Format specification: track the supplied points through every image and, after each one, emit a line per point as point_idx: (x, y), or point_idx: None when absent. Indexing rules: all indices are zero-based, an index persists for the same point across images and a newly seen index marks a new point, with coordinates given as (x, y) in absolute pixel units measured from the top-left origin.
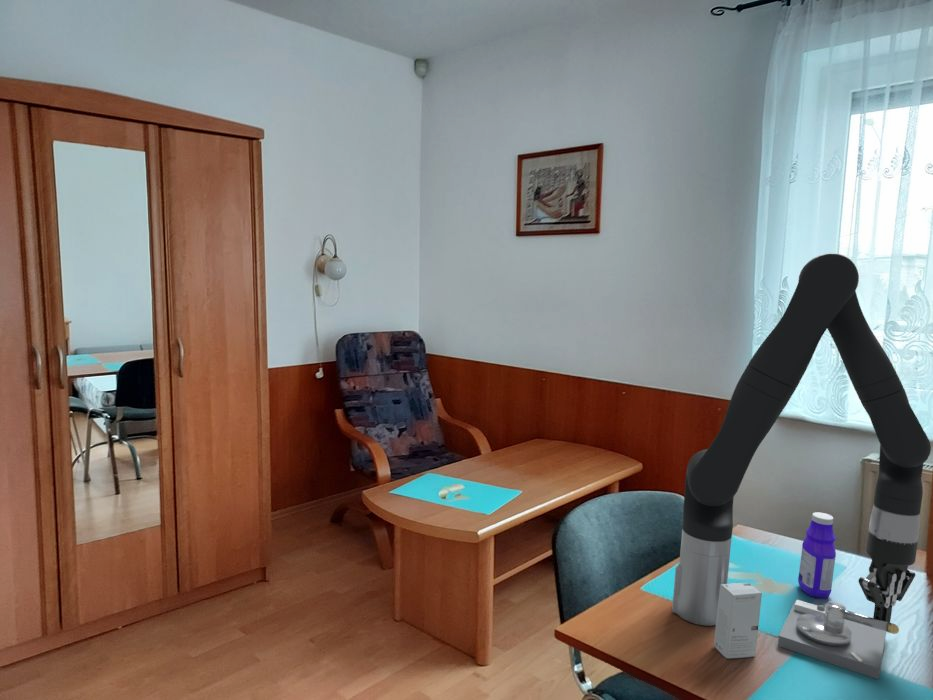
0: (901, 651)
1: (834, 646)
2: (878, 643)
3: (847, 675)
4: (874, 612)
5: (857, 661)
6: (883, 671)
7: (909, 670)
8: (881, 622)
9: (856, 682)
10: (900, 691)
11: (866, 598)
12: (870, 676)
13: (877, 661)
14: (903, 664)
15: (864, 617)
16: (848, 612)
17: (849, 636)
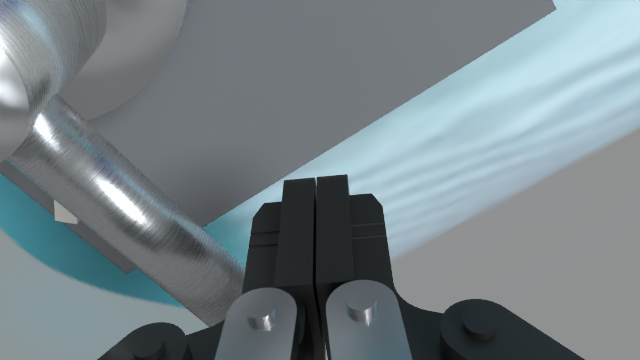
0: (483, 110)
1: None
2: (322, 124)
3: (9, 185)
4: (251, 249)
5: (51, 212)
6: None
7: None
8: (206, 320)
9: (19, 227)
10: (174, 301)
11: (113, 347)
12: None
13: None
14: (370, 189)
15: (124, 252)
16: (30, 171)
17: (103, 107)
